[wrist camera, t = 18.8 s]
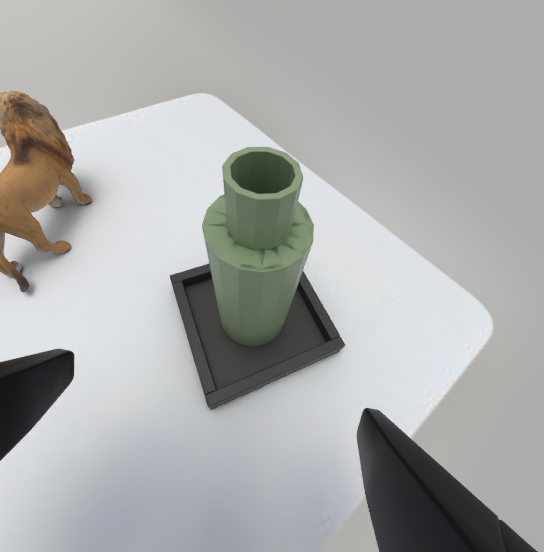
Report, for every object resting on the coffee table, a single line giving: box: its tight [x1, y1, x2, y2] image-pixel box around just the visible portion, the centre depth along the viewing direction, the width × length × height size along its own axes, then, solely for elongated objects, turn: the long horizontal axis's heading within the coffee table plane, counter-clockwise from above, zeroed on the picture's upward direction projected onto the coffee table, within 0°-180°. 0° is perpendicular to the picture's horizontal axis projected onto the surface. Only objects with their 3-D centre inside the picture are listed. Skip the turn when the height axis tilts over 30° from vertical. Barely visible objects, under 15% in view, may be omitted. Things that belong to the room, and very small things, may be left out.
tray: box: [170, 264, 345, 409], centre depth 22 cm, size 11×11×2 cm
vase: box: [202, 147, 314, 347], centre depth 16 cm, size 5×5×14 cm
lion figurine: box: [0, 91, 92, 292], centre depth 22 cm, size 15×5×9 cm, turn 7°
